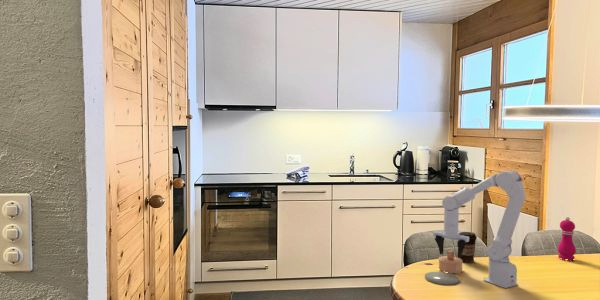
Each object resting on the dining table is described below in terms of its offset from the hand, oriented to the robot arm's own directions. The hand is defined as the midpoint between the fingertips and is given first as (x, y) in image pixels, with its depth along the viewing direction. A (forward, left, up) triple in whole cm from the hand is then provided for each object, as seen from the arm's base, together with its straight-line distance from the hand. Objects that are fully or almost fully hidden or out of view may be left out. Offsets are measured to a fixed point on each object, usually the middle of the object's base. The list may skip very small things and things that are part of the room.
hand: (450, 255), depth 170 cm
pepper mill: (-15, -62, -7) cm, 64 cm away
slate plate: (-6, +12, -6) cm, 15 cm away
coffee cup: (+5, -17, -7) cm, 19 cm away
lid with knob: (0, 0, -6) cm, 6 cm away
